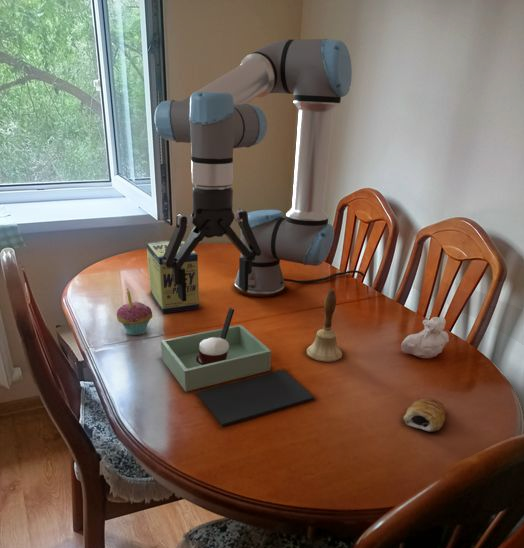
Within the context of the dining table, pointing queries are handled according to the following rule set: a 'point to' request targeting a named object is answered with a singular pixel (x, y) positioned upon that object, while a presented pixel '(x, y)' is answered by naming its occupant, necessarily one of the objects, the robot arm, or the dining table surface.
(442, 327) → the white animal figurine
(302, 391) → the mat
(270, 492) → the dining table surface
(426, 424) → the pastry
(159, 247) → the protein box
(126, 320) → the cupcake
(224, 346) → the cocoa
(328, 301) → the hand bell
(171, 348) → the tote
